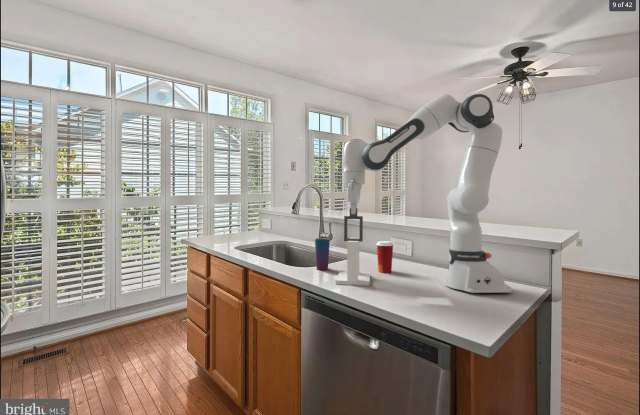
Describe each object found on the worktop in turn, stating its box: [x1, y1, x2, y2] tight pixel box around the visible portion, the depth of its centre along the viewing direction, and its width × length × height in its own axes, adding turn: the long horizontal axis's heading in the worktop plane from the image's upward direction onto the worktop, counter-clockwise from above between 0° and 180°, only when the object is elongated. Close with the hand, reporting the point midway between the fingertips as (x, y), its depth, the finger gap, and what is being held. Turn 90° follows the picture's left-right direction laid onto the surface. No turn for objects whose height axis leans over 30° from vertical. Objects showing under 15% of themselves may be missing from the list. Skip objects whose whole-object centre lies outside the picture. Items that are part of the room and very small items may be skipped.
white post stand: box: [335, 241, 371, 286], centre depth 133 cm, size 13×16×16 cm
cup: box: [314, 237, 331, 272], centre depth 149 cm, size 7×7×15 cm
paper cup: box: [376, 240, 394, 274], centre depth 147 cm, size 8×8×14 cm
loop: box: [343, 207, 364, 243], centre depth 133 cm, size 7×4×13 cm, turn 81°
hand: (353, 214), depth 133 cm, fingers closed on loop, 2 cm apart
